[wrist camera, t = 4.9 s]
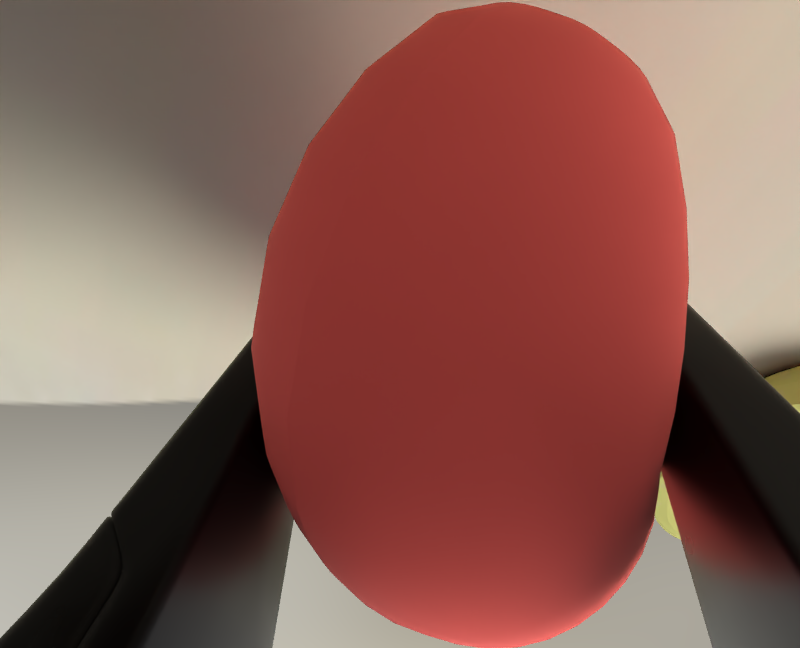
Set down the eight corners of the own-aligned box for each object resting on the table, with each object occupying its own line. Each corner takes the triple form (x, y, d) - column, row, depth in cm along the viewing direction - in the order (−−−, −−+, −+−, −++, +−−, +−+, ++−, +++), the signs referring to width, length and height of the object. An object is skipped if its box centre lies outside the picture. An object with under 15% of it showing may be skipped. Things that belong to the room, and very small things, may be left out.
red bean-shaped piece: (280, 352, 14) (372, 672, 12) (78, 16, 5) (280, 943, 3) (511, 279, 14) (639, 573, 12) (658, -135, 6) (1147, 584, 4)
